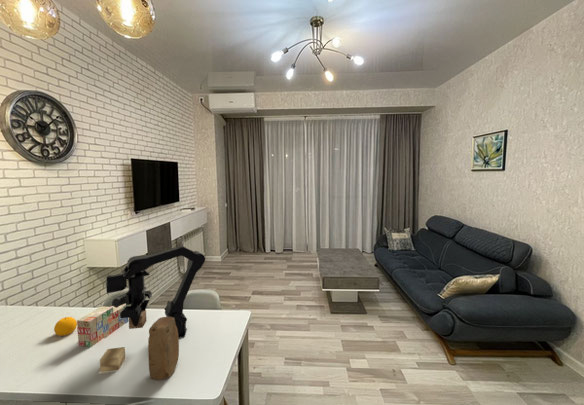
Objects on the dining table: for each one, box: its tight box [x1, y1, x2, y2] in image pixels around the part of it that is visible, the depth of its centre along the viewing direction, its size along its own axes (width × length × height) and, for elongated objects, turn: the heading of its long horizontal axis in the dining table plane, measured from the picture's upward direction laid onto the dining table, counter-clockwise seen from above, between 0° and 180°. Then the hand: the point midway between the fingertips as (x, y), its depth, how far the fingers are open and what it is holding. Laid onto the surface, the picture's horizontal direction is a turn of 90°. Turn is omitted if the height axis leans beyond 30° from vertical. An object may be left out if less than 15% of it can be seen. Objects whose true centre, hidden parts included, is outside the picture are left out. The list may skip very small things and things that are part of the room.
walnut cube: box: [128, 309, 147, 330], centre depth 108 cm, size 5×5×5 cm
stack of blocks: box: [76, 303, 129, 348], centre depth 119 cm, size 21×6×12 cm, turn 174°
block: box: [147, 316, 180, 381], centre depth 95 cm, size 11×8×20 cm
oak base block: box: [99, 346, 126, 372], centre depth 98 cm, size 6×6×5 cm
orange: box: [53, 316, 77, 337], centre depth 119 cm, size 8×8×8 cm
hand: (138, 322), depth 108 cm, fingers closed on walnut cube, 5 cm apart
